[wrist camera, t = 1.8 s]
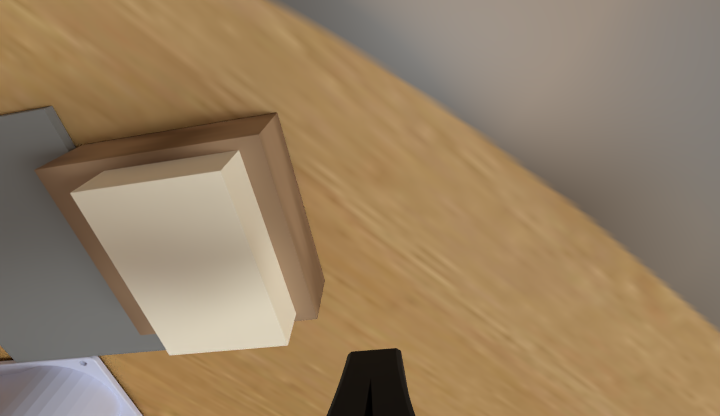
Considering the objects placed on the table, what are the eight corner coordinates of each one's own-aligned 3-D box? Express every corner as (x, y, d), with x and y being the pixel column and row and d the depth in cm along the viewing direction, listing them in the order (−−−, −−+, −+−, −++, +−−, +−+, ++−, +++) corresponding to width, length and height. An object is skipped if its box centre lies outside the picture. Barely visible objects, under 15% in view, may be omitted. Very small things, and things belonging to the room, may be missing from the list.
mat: (22, 356, 27) (16, 362, 27) (-167, 145, 19) (-179, 149, 19) (186, 342, 26) (183, 348, 25) (52, 105, 18) (43, 108, 17)
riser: (167, 297, 24) (140, 335, 21) (81, 144, 19) (33, 170, 16) (324, 280, 22) (317, 319, 20) (277, 112, 17) (258, 134, 15)
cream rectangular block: (187, 324, 20) (169, 355, 19) (103, 170, 16) (70, 193, 14) (296, 313, 20) (287, 345, 18) (238, 150, 15) (220, 170, 14)
